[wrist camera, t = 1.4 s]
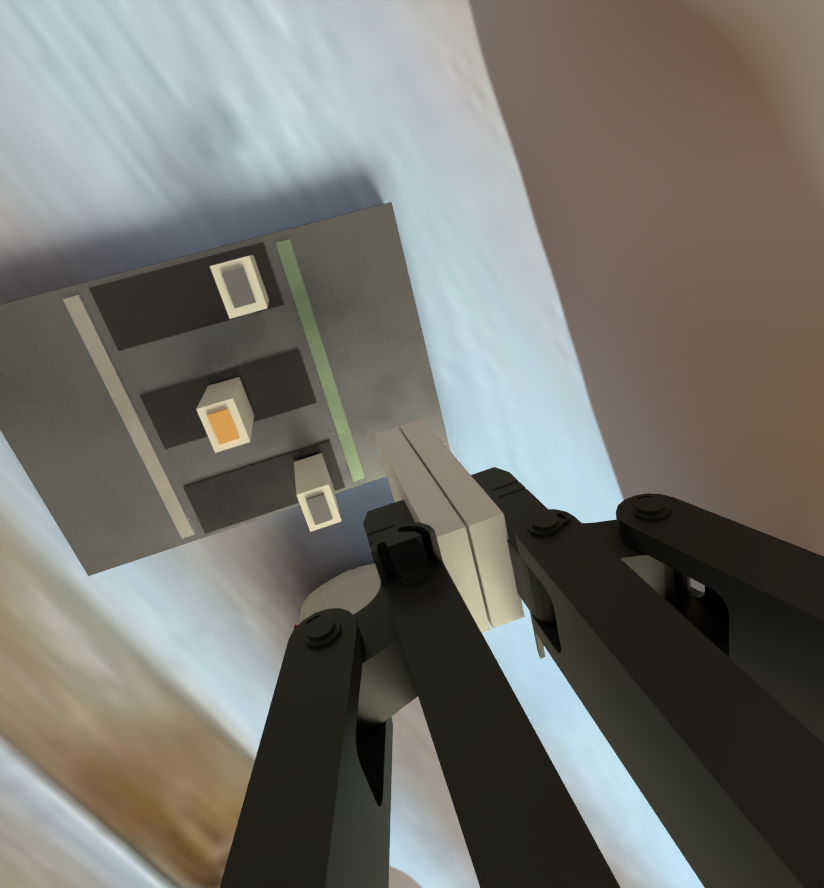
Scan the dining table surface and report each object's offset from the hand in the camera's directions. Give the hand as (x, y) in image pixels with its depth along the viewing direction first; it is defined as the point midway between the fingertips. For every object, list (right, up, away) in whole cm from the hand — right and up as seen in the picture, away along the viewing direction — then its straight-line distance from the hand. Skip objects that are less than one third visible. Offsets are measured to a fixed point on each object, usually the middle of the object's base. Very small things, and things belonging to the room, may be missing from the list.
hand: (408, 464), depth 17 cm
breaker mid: (-10, +3, +14) cm, 17 cm away
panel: (-11, +4, +16) cm, 20 cm away
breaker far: (-6, -1, +16) cm, 17 cm away
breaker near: (-9, +9, +12) cm, 17 cm away
